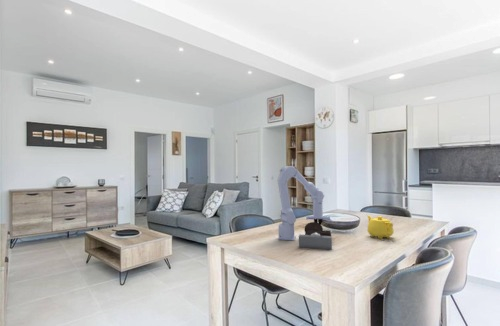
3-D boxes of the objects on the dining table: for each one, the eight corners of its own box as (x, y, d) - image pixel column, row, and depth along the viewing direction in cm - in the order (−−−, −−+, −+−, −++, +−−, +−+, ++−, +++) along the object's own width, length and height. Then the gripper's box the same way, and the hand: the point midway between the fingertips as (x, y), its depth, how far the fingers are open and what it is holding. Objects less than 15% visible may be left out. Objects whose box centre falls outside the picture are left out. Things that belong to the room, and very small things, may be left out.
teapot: (375, 232, 180) (375, 213, 180) (401, 239, 161) (401, 218, 161) (359, 234, 175) (358, 214, 176) (383, 241, 157) (383, 220, 157)
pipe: (331, 231, 153) (328, 221, 167) (304, 231, 156) (303, 222, 170) (332, 247, 154) (329, 236, 169) (305, 248, 157) (305, 237, 172)
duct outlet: (298, 247, 148) (298, 234, 148) (300, 244, 153) (299, 232, 153) (331, 249, 143) (331, 235, 143) (331, 246, 148) (331, 233, 148)
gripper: (305, 210, 171) (306, 232, 171) (330, 210, 168) (330, 233, 168) (306, 208, 178) (306, 229, 178) (329, 209, 175) (329, 230, 174)
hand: (318, 231), depth 173 cm, fingers closed
